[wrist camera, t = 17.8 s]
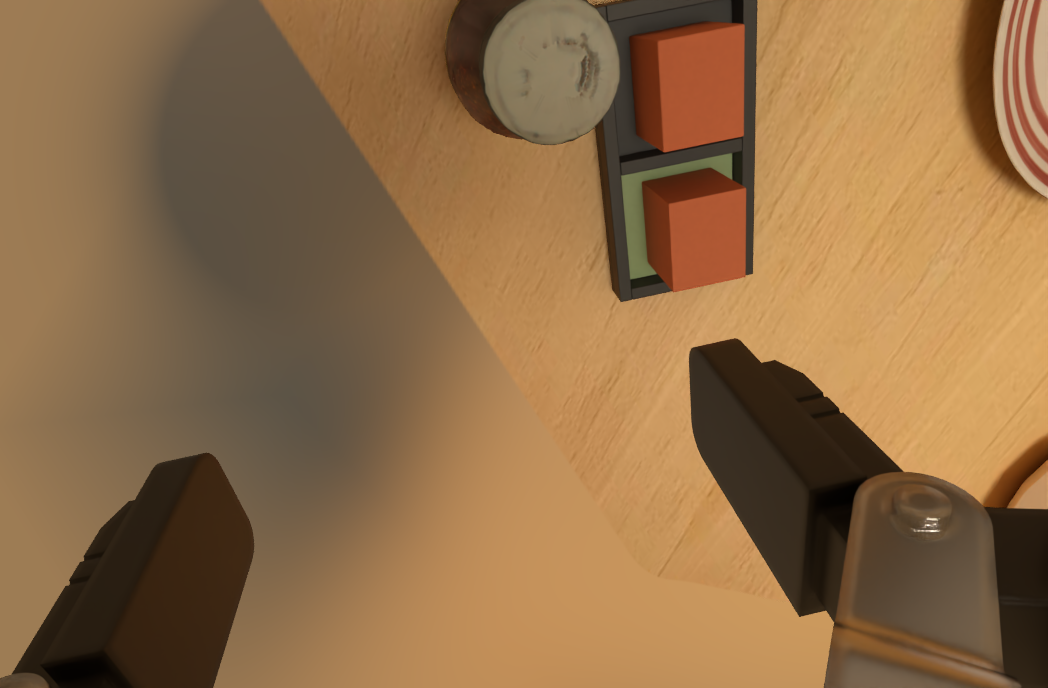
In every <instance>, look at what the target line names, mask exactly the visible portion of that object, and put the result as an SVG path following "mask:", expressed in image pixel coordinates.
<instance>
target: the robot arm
mask: <svg viewBox="0 0 1048 688" xmlns="http://www.w3.org/2000/svg"><path fill="white" fill-rule="evenodd" d="M689 372H690V396H691V420H692V429H693V434H694V438H695V441H696V444H697V447H698V450H699V452H700V454H701V456H702V458H703V460H704V462H705V463H706V465H707V467H708V468H709V470H710V471H711V473H712V475H713V476H714V478H715V480H716V481H717V483H718V485H719V486H720V488H721V489H722V491H723V493H724V494H725V496H726V498H727V499H728V501H729V503H730V504H731V506H732V507H733V509H734V511H735V512H736V514H737V516H738V517H739V519H740V521H741V522H742V524H743V525H744V527H745V529H746V530H747V532H748V534H749V535H750V537H751V539H752V540H753V542H754V543H755V545H756V547H757V548H758V550H759V552H760V553H761V555H762V557H763V558H764V560H765V561H766V563H767V565H768V566H769V568H770V570H771V571H772V573H773V575H774V576H775V578H776V579H777V581H778V583H779V584H780V586H781V588H782V589H783V591H784V593H785V594H786V596H787V597H788V599H789V601H790V602H791V604H792V606H793V607H794V609H795V611H796V612H797V613H798V615H799V617H801V616H805V615H809V614H813V613H817V612H822V611H827V612H828V614H829V615H830V617H831V618H832V620H833V621H834V626H833V632H832V639H831V645H830V651H829V658H828V664H827V671H826V677H825V683H824V688H1048V509H1024V508H993V507H983V506H982V505H981V504H980V503H979V502H978V501H977V500H976V499H975V498H974V497H973V496H971V495H970V494H969V493H967V492H966V491H965V490H963V489H961V488H959V487H958V486H956V485H954V484H952V483H949V482H947V481H945V480H942V479H939V478H936V477H933V476H929V475H925V474H920V473H913V472H903V471H902V470H901V469H900V468H899V467H898V466H897V465H896V464H895V463H894V462H893V461H892V460H891V459H890V458H889V457H888V456H887V455H886V454H885V453H884V452H883V451H882V450H881V449H880V448H879V447H878V446H877V445H876V444H875V443H874V442H873V441H872V440H871V439H870V438H869V437H868V436H867V435H866V434H865V433H864V432H863V431H862V430H861V429H860V428H859V427H858V426H856V425H855V424H854V423H853V422H852V421H851V420H850V419H849V418H848V417H847V416H846V415H845V414H844V413H840V411H839V408H838V407H837V406H836V405H835V404H834V403H833V402H832V401H831V400H830V399H829V398H828V397H824V396H823V392H822V391H821V390H820V389H819V388H818V387H817V386H816V385H815V384H814V383H813V382H812V381H811V380H809V379H808V378H807V377H806V376H805V375H804V374H803V373H801V372H799V371H797V370H795V369H793V368H790V367H788V366H786V365H784V364H782V363H780V362H778V361H776V360H773V361H769V362H764V363H761V362H760V361H759V360H758V359H757V358H756V357H755V356H754V355H753V354H752V353H751V351H750V350H749V349H748V348H747V347H746V346H745V345H744V344H743V343H742V342H741V341H740V340H739V339H736V338H734V339H730V340H725V341H721V342H716V343H712V344H707V345H702V346H698V347H694V348H692V349H691V351H690V354H689ZM253 553H254V539H253V532H252V527H251V524H250V521H249V519H248V517H247V515H246V513H245V511H244V509H243V508H242V506H241V504H240V502H239V500H238V498H237V496H236V494H235V492H234V490H233V488H232V486H231V485H230V483H229V481H228V479H227V477H226V475H225V473H224V472H223V470H222V468H221V466H220V464H219V462H218V460H217V459H216V458H215V457H214V456H213V455H211V454H210V453H203V454H198V455H194V456H189V457H185V458H180V459H176V460H171V461H166V462H162V463H159V464H157V465H156V466H155V467H154V468H153V470H152V471H151V473H150V475H149V476H148V478H147V480H146V482H145V483H144V485H143V487H142V489H141V490H140V492H139V494H138V495H137V497H136V499H135V500H133V501H129V502H128V503H127V504H126V505H125V506H123V507H122V508H121V510H119V511H118V512H117V513H116V514H115V515H114V516H113V517H112V518H111V519H110V520H109V521H108V522H107V523H106V524H105V525H104V526H103V527H102V528H101V529H100V530H99V532H98V534H97V535H96V537H95V539H94V540H93V542H92V544H91V545H90V547H89V549H88V550H87V552H86V553H85V555H84V561H83V562H80V563H79V565H78V566H77V568H76V570H75V571H74V573H73V575H72V576H71V578H70V580H69V581H70V585H69V586H65V588H64V590H63V591H62V593H61V594H60V596H59V598H58V599H57V601H56V602H55V604H54V606H53V607H52V609H51V611H50V612H49V614H48V616H47V617H46V619H45V620H44V622H43V624H42V625H41V627H40V629H39V630H38V632H37V634H36V635H35V637H34V638H33V640H32V642H31V643H30V645H29V647H28V648H27V650H26V652H25V653H24V655H23V657H22V658H21V660H20V661H19V663H18V665H17V666H16V668H15V670H14V671H13V673H12V675H9V676H5V677H3V678H0V688H213V686H214V683H215V680H216V676H217V673H218V669H219V667H220V663H221V660H222V657H223V653H224V650H225V647H226V643H227V640H228V637H229V634H230V630H231V627H232V623H233V620H234V617H235V614H236V611H237V608H238V604H239V601H240V598H241V594H242V591H243V588H244V585H245V581H246V578H247V575H248V572H249V568H250V565H251V562H252V558H253Z"/></svg>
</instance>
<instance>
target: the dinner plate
mask: <svg viewBox="0 0 1048 688" xmlns="http://www.w3.org/2000/svg"><path fill="white" fill-rule="evenodd" d="M993 99H994V108H995V116H996V120H997V125H998V130H999V133H1000V137H1001V140H1002V143H1003V146H1004V148H1005V150H1006V152H1007V155H1008V157H1009V159H1010V160H1011V162H1012V164H1013V166H1014V167H1015V169H1016V170H1017V171H1018V172H1019V174H1020V175H1021V176H1022V177H1023V178H1024V180H1025V181H1026V182H1027V183H1028V184H1029V185H1030V186H1031V187H1032V188H1033V189H1035V190H1036V191H1037V192H1038V193H1040V194H1041V195H1043V196H1044V197H1046V198H1047V199H1048V0H1004V2H1003V6H1002V10H1001V14H1000V19H999V24H998V29H997V35H996V42H995V51H994V62H993Z"/></svg>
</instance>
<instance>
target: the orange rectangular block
mask: <svg viewBox="0 0 1048 688" xmlns="http://www.w3.org/2000/svg"><path fill="white" fill-rule="evenodd" d="M629 41H630V55H631V68H632V81H633V95H634V108H635V122H636V135H637V136H639V137H640V138H642V139H643V140H645V141H647V142H648V143H650V144H651V145H653V146H654V147H656V148H658V149H659V150H661V151H662V152H669V151H674V150H679V149H684V148H689V147H694V146H699V145H704V144H708V143H713V142H718V141H723V140H728V139H733V138H738V137H742V136H744V41H745V25H744V24H737V23H723V22H709V21H704V22H698V23H693V24H688V25H683V26H678V27H673V28H668V29H663V30H658V31H653V32H648V33H642V34H637V35H632V36H630V37H629Z"/></svg>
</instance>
